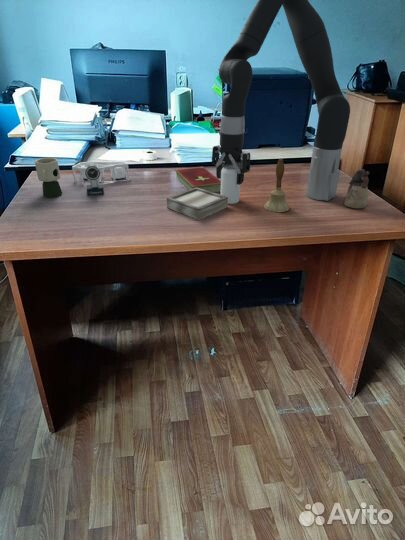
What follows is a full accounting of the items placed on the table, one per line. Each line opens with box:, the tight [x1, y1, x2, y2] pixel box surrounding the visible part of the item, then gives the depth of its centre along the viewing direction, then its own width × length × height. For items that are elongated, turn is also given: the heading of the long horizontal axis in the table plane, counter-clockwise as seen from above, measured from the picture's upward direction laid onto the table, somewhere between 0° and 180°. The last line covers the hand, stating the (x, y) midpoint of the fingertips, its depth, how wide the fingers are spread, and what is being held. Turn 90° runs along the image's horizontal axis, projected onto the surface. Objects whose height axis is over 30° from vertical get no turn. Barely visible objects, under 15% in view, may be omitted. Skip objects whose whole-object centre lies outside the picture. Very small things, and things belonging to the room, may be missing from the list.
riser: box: [166, 187, 229, 220], centre depth 130 cm, size 14×14×4 cm
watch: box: [85, 163, 105, 196], centre depth 138 cm, size 6×8×11 cm
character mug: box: [34, 157, 63, 199], centre depth 135 cm, size 11×7×13 cm, turn 4°
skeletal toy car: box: [71, 160, 131, 185], centre depth 150 cm, size 20×11×7 cm, turn 92°
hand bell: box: [263, 158, 290, 213], centre depth 127 cm, size 8×8×16 cm
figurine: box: [343, 168, 370, 209], centre depth 131 cm, size 7×7×12 cm
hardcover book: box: [174, 166, 221, 193], centre depth 149 cm, size 12×21×4 cm, turn 20°
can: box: [220, 163, 241, 205], centre depth 133 cm, size 6×6×12 cm
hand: (229, 180), depth 133 cm, fingers open, 8 cm apart
